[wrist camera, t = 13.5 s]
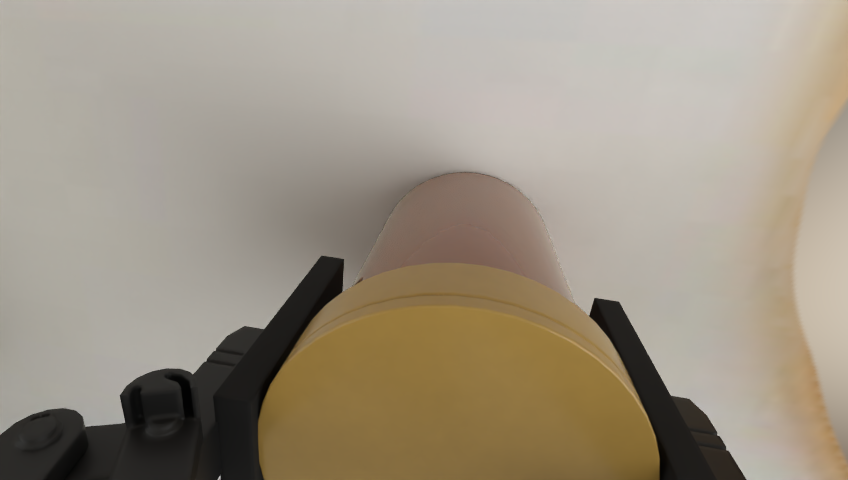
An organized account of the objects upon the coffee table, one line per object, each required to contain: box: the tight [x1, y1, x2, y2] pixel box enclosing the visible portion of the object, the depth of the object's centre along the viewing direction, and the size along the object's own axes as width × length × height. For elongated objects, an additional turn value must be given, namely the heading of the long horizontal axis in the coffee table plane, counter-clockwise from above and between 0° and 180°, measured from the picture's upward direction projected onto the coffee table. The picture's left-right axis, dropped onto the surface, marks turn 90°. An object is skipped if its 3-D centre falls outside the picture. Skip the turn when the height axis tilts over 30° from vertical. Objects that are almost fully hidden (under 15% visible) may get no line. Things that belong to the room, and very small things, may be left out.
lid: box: [258, 263, 660, 480], centre depth 10 cm, size 8×8×2 cm
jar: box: [352, 172, 575, 304], centre depth 15 cm, size 7×7×10 cm
